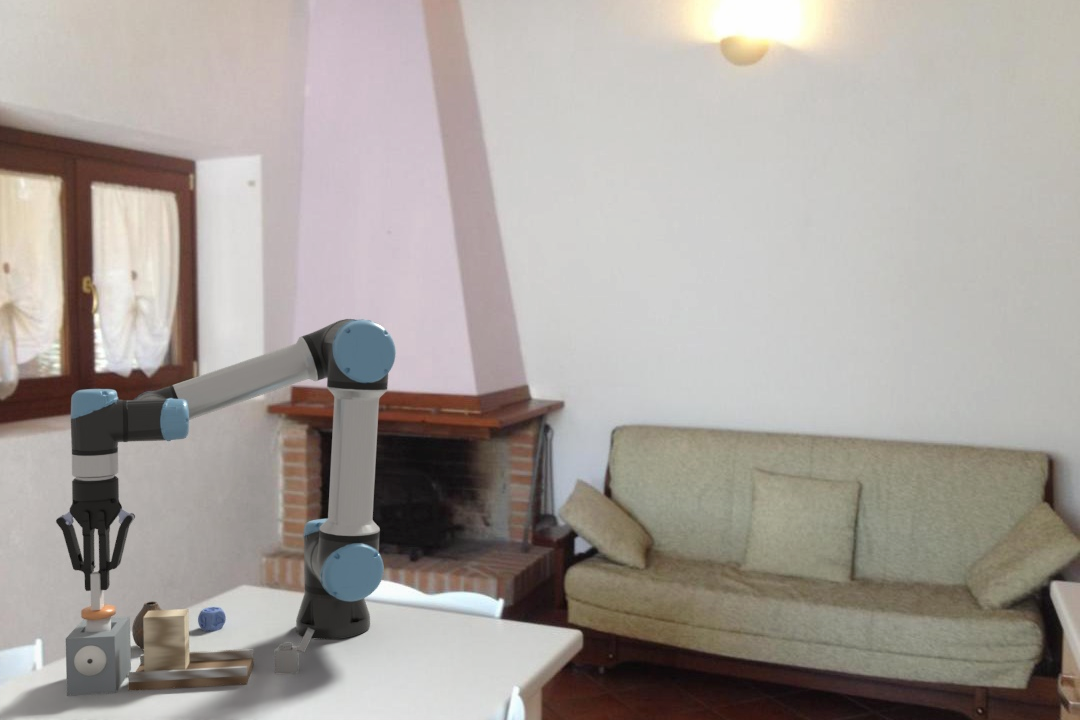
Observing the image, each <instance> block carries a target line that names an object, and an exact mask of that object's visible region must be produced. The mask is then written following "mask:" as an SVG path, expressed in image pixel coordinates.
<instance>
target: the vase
mask: <svg viewBox="0 0 1080 720" xmlns="http://www.w3.org/2000/svg"><path fill="white" fill-rule="evenodd" d="M155 610H163V609H162V608H161V606H159V604H158V602H157V601H147V602H145V603H144V604H143V607H142V608H141V610H139V612H138V613H137V614H136V616H135V618H134V620H133V624H132V628H131V630H132V631H131V632H132V638H133V641H134V644H135V645H136V646H137V647H138V649H140V650H142V651H144V630H143V617H144V616H145V615H146V613H147V612H148V611H155Z"/></svg>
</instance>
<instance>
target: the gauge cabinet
mask: <svg viewBox="0 0 1080 720" xmlns="http://www.w3.org/2000/svg"><path fill="white" fill-rule="evenodd" d="M131 652H132V651H131V617H130V616H119V617H118V616H117V617H116V616H115V617H113V616H111V631H103V632H87V627H86V619H83V618H82V620H81V621H80V622H79V624H77V626H76V627H75V628H74V629H73V630H72V631H71V632H70V633H69V635H68V636H67V637H65V667H66V696H83V694H84V695H96V694H97V695H98V694H99V695H101V693H102V694H116V693H117V692H118V691H119V689H120V687H121V686H122V684H123V683H124V681H125V680H126V678H127V676H128V674H129V672H132V657H131V656H132V653H131ZM81 694H82V695H81Z"/></svg>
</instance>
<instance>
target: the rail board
mask: <svg viewBox="0 0 1080 720" xmlns="http://www.w3.org/2000/svg"><path fill="white" fill-rule="evenodd" d="M139 658H140V659H139V660H140V663H139V665H138V667H137V669H136V670H135V671H130V672H129V674H128V675H127V676H128V682H127V683H128V685H127V686H128V691H129V692H132V691H134V692H135V691H150V690H153V691H154V690H169V689H185V688H187V689H188V688H202V687H203V688H204V687H219V686H220V687H221V686H223V687H224V686H237V685H239V686H240V685H247V684H248V681H249V679H250V676H251V673H252V670H253V667H254V648H242V649H239V648H238V649H225V650H223V649H222V650H202V651H199V650H198V651H189V664H188V666H187V668H186V669H180V670H162V671H144V653H143V654H140V656H139Z"/></svg>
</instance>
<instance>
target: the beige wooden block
mask: <svg viewBox="0 0 1080 720" xmlns="http://www.w3.org/2000/svg"><path fill="white" fill-rule="evenodd" d="M189 611H190V610H189V609H188V608H184V609H183V608H182V609H179V608H177V609H162V610H155V611H148V612H147V613H146V615H145V616H144V617H143V630H144V650H143V654H144V671H162V670H180V669H186V668H187V666H188V664H189V652H190V634H189V633H190V621H189V620H190V619H189V618H190V617H189V616H190V615H189V614H190V613H189Z"/></svg>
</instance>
